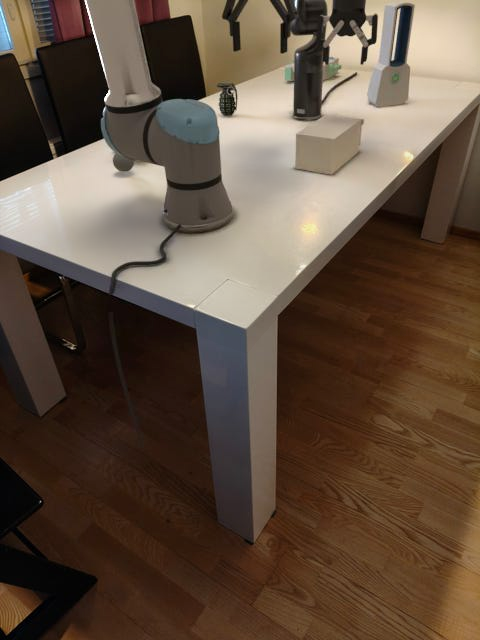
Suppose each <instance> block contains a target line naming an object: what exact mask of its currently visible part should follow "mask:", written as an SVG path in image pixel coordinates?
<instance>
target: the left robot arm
mask: <svg viewBox="0 0 480 640" xmlns="http://www.w3.org/2000/svg"><path fill="white" fill-rule="evenodd" d="M236 1H237V0H226V2H225V5H224V8H223V11H222V15H221V18H222V20H225V21H227V22H228V23H229V36H230V37H232V48H233V49H232V50H233V52H235V53H236V52H239V51H241V50H242V47H241V46H242V45H241V23H240V21H238V19H239V17H240V15H241V14H242V12H243V10H244V9H245V7H246V5H247V3H248V2H249V0H238V1H237V3H236ZM84 2H85V5H86V9H87V13H88V16H89V20H90V24H91V27H92V32H93V35H94V39H95V43H96V46H97V50H98V53H99V58H100V61H101V65H102V68H103V72H104V76H105V79H106V83H107V87H108V93H107V94H106V96H105V97H104V105H105V107H104V108H103V111H102V116H103V117H102V118H100V129H101V133H102V134H101V135H102V137H103V139H104V142H105V143H106V145H107V146H108V147H109V149H110V150H112V152H114V154H115V153H117V154H118V155H121V156H123V157H125V158H128V159H130V160H134V162H135V161H138V162H143V163H147V164H151V165H155V166H159V167H163V168H164V173H165V180H166V190H165V191H166V192H165V196H164V203H163V207H162V218H163V222H164V224H165V226H167V227H168V228H169V229H171V230H172V231H171V232H170V234H169V235H168V236H166V237H165V239H164V240H162V241H161V243H160V245H159V252H160V254H161V257H160V258H159V259H156V260H150V261H149V260H147V261H145V260H143V261H142V260H141V261H139V260H136V261H135V260H134V261H129V262H125V263H123V264H121V265H119V266H117V267H116V268H115V269H114V270H113V271H112V272H111V276H110V283H109V284H110V285H109V290H108V296H113V294H114V291H115V284H116V277H117V274H118V273H119V272H120V271H122V270H124V269H125V268H129V267H132V266H155V265H158V264H161V263H163V262H164V261H165V260H166V259H167V253H166V251H165V250H164V247H165V246H166V244H167V243H168V242H169V241H170V240H171V239H172V238H173V237H174V235H176V233H177V232H180V233H190V234H191V233H192V234H193V233H194V234H195V233H196V234H197V233H205V232H206V233H207V232H210V231H215V230H216V229H220V228H222V227H224V226H226V225H227V224H228V223H230V221H231V220H232V218H233V216H234V212H233V211H234V210H233V205H232V201H231V200H230V197H229V195H228V192H227V190H226V187H225V184H224V182H223V175H222V174H223V173H222V160H221V159H222V158H221V142H220V141H221V140H220V127H219V124H218V116H217V113H216V110H215V109H214V108H213V107H212V106H211V105H209V104H208V103H205V102H203V101H199V100H196V99H189V98H187V99H183V98H174V99H168V100H165V101H164V100H163V95H162V90H161V89H160V87H158V86H157V85H156V84H154V83H153V82H152V79H151V75H150V69H149V65H148V64H149V63H148V60H147V56H146V51H145V46H144V41H143V37H142V32H141V27H140V22H139V17H138V12H137V8H136V3H135V0H84ZM269 2H270V3H271V5H272V6H273V8H274V9H275V11H276V13H277V14H278V16H279V17H280V19H281V20H282V22H281V23H280V25H279V26H280V27H279V28H280V29H279V30H280V31H279V32H280V33H279V34H280V35H279V37H280V38H279V40H280V41H279V42H280V43H279V44H280V45H279V47H280V48H279V49H280V50H279V51H280V54H285V53H287V52H288V40H289V38H291V35H292V32H291V22H292V21H293V20H295V19H297V18H298V17H299V15H298V12H297V10H296V7H295V4H294V1H293V0H283V2H282V1H281V0H269ZM283 3H284V4H283ZM107 313H108V322H109V330H110V335H111V343H112V349H113V353H114V359H115V363H116V367H117V371H118V374H119V378H120V382H121V386H122V389H123V393H124V396H125V399H126V402H127V405H128V410H129V412H130V415H131V420H132V422H133V426H134V429H135V433H136V436H137V441H138V444H139V447H140V448H143V447H144V443H143V439H142V435H141V431H140V428H139V424H138V421H137V417H136V414H135V409H134V406H133V404H132V399H131V396H130V393H129V390H128V386H127V383H126V379H125V375H124V372H123V368H122V367H123V366H122V363H121V359H120V358H121V357H120V354H119V349H118V345H117V344H118V343H117V338H116V330H115V325H114V324H115V323H114V312H112V311H108V312H107Z"/></svg>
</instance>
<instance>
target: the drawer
mask: <svg viewBox="0 0 480 640" xmlns="http://www.w3.org/2000/svg"><path fill="white" fill-rule="evenodd" d="M361 119H362V118H361ZM364 121H365V119H362V120H361V130H360V140H359V147H360V146H361V139H362V137H361V136H362V128H363V125H364V123H365V122H364Z"/></svg>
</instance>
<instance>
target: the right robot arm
mask: <svg viewBox="0 0 480 640" xmlns="http://www.w3.org/2000/svg"><path fill="white" fill-rule="evenodd" d="M293 1H294V4H295V7H296V10H297V12H298V15H299V17H298V18H297V19H295V20H293V21H292V22H291V35H293V36H296V37H300V36H301V37H302V36H312V37H311V39H309V41H308V42H307V43H305V44H303V45H301V46H300V47H298V48H296V49H295V51H294V57H293V60H294V81H293V107H292V108H293V110H292V111H293V113H292V118H294V119H295V120H298V121H299V120H300V121H312V120H313V121H314V120H318V119H320V118H321V117H322V105H323V104H324V102H326V99H327V98H328V96H329V95H330V94H331V92H332V91H334V89H336V88H338V87H339V86H341V85H342V84H343V83H346V82H347V81H348V80H350V79H352V78H353V77H355V76H356V75H358V72H357V71H356V72H354V73H353V74H351V75H350V76H347V77H346V78H344V79H343V80H340V82H338V83H336V84H335V85H333V87H330V89H329V90H328V91H327V93H326V94H325V95H324V97H323V82H324V81H323V63H324V62H325V65H328V64H329V57H330V51H331V49H330V48H331V47H330V44H331V42H332V41H333V40H334V38H335V37H336V36H339V37H345V36H346V37H354V36H356V37H357V38H358V40H359V41H360V43H361V45H362V46H361V53H360V65H361V66H363V65H364V63H366V62H367V61H368V60H367V59H368V55H369V54H368V52H369V47H370V46H372V45H375V44H376V43H377V42H378V41H377V40H378V23H379V22H378V21H379V14H378V13H376V12H375V13H373V14H367V15H366V2H367V0H332V6H331V13H330V15H328V10H329V9H328V4H327V1H326V0H293ZM328 22H329V23H330V25H331V27H332V29H333V30H332V31H331V32H330V33H329V35H328V36H327V37H326V35H327V27H328V26H327V25H328ZM366 22H367V23H368V25H369V26H370V27H371V34H370V35H371V36H370V38H367V36H366V34H365V32H364V30H363V29H362V27H363V25H364V24H365V23H366Z"/></svg>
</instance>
